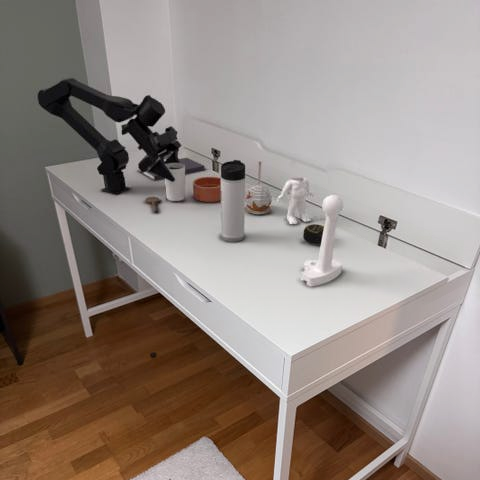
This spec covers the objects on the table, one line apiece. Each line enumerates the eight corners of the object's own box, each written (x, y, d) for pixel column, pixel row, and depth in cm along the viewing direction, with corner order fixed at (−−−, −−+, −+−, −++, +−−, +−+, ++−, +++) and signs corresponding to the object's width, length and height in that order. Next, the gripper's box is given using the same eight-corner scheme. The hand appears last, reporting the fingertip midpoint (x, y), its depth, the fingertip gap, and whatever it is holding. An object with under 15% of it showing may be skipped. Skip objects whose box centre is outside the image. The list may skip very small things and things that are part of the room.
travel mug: (247, 233, 129) (249, 161, 118) (239, 243, 124) (240, 168, 113) (226, 230, 131) (226, 158, 119) (217, 240, 126) (216, 165, 114)
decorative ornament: (248, 205, 147) (249, 156, 138) (272, 207, 145) (275, 158, 137) (243, 214, 140) (244, 164, 132) (268, 217, 139) (271, 166, 130)
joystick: (313, 288, 106) (324, 204, 94) (290, 275, 111) (297, 194, 99) (345, 273, 112) (358, 192, 100) (321, 261, 116) (331, 183, 105)
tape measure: (321, 249, 122) (323, 236, 120) (298, 242, 125) (299, 229, 123) (331, 239, 127) (333, 227, 125) (309, 233, 130) (310, 221, 128)
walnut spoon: (163, 212, 141) (163, 208, 140) (148, 213, 140) (148, 210, 139) (158, 198, 150) (158, 195, 149) (145, 199, 149) (144, 196, 148)
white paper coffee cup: (163, 200, 146) (161, 169, 141) (167, 193, 152) (165, 162, 146) (184, 201, 146) (183, 170, 140) (187, 194, 152) (186, 163, 146)
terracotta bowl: (186, 199, 150) (185, 183, 147) (205, 189, 158) (205, 174, 155) (214, 206, 146) (214, 190, 143) (232, 195, 153) (232, 180, 150)
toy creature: (284, 227, 133) (287, 186, 126) (273, 219, 138) (276, 179, 131) (319, 220, 138) (324, 180, 131) (308, 213, 142) (312, 174, 135)
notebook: (154, 180, 164) (204, 169, 175) (154, 176, 163) (204, 165, 174) (137, 171, 172) (186, 161, 183) (137, 166, 171) (186, 157, 182)
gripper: (143, 125, 129) (181, 170, 133) (174, 112, 144) (207, 153, 147) (122, 151, 136) (158, 193, 139) (153, 136, 150) (185, 174, 154)
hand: (178, 177), depth 145 cm, fingers closed on white paper coffee cup, 6 cm apart
